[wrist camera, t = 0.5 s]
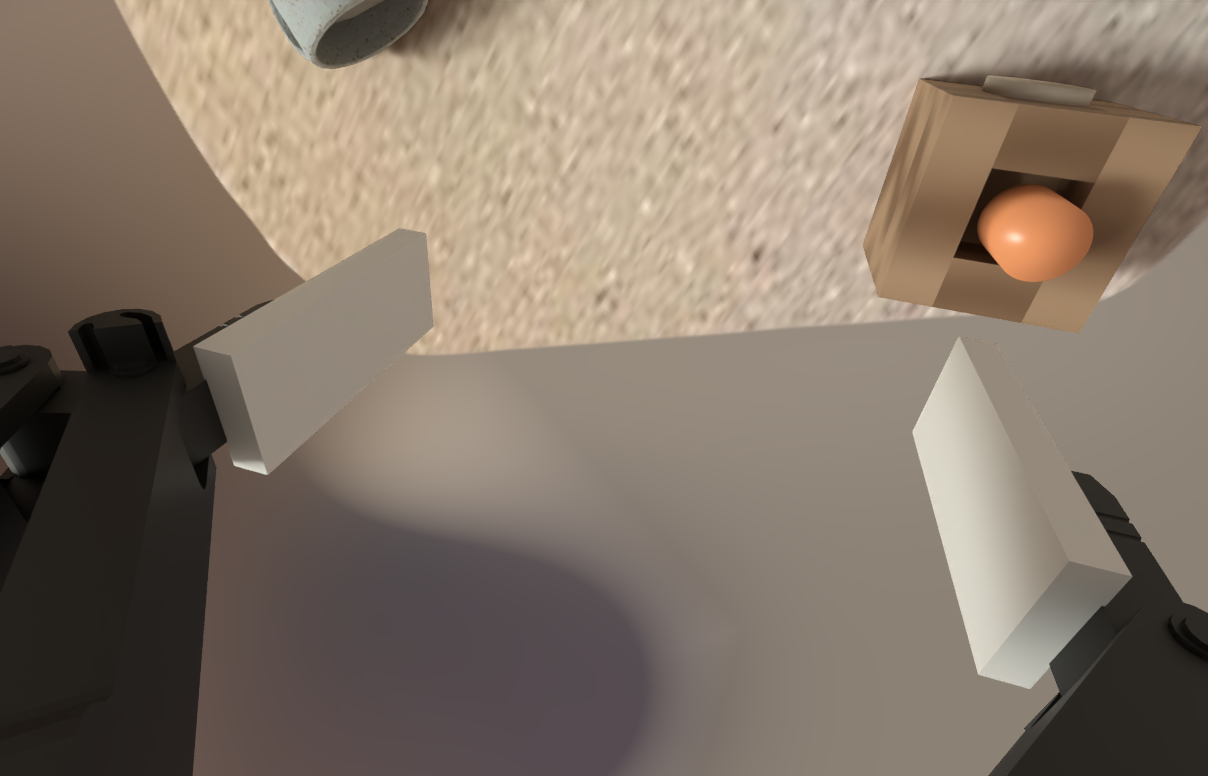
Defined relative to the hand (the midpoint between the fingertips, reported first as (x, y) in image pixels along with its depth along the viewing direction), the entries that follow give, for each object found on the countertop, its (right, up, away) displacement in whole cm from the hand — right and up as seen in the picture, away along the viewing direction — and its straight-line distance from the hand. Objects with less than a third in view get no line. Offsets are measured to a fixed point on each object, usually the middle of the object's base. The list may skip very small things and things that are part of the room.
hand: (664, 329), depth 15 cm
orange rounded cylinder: (+17, +6, +12) cm, 21 cm away
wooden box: (+19, +10, +18) cm, 28 cm away
